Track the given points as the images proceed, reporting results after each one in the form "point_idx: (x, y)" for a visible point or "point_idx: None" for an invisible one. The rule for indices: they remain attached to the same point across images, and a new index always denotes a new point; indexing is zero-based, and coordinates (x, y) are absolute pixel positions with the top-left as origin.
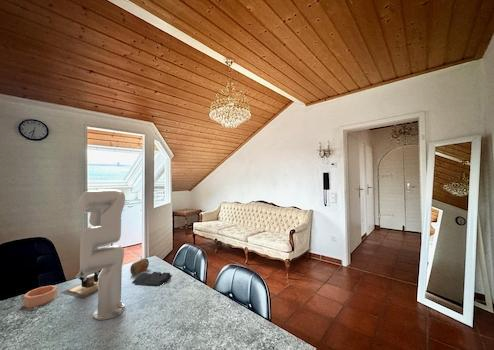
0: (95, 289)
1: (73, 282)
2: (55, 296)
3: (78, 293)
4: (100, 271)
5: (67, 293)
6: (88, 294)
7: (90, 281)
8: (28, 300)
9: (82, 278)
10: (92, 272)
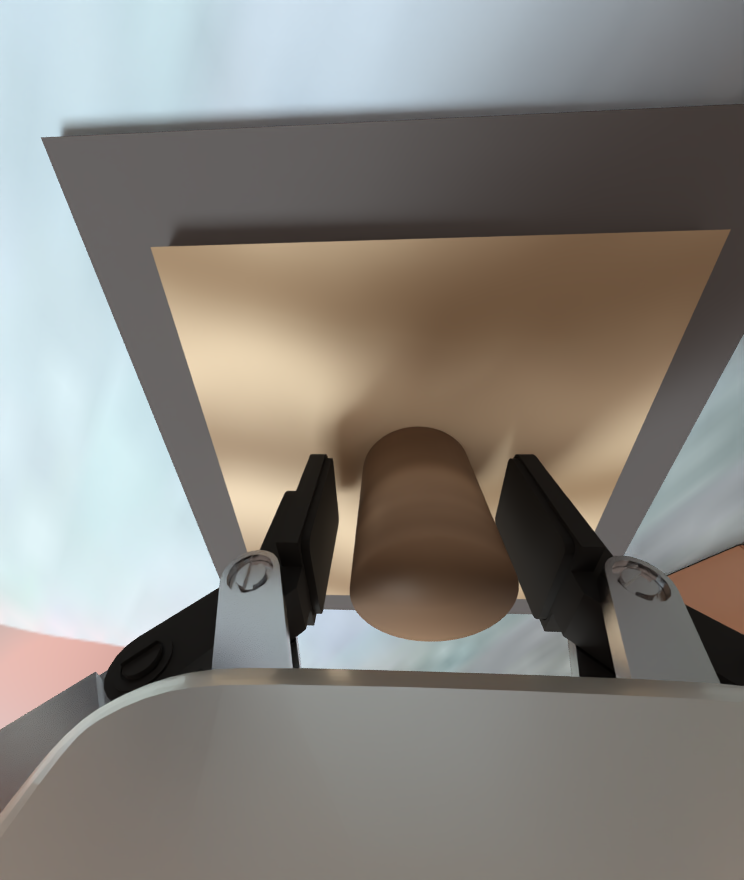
0: (499, 236)
1: (380, 669)
2: (693, 582)
3: (633, 418)
4: (157, 631)
5: (609, 546)
6: (647, 216)
7: (466, 491)
8: None
9: (723, 653)
10: (564, 756)
